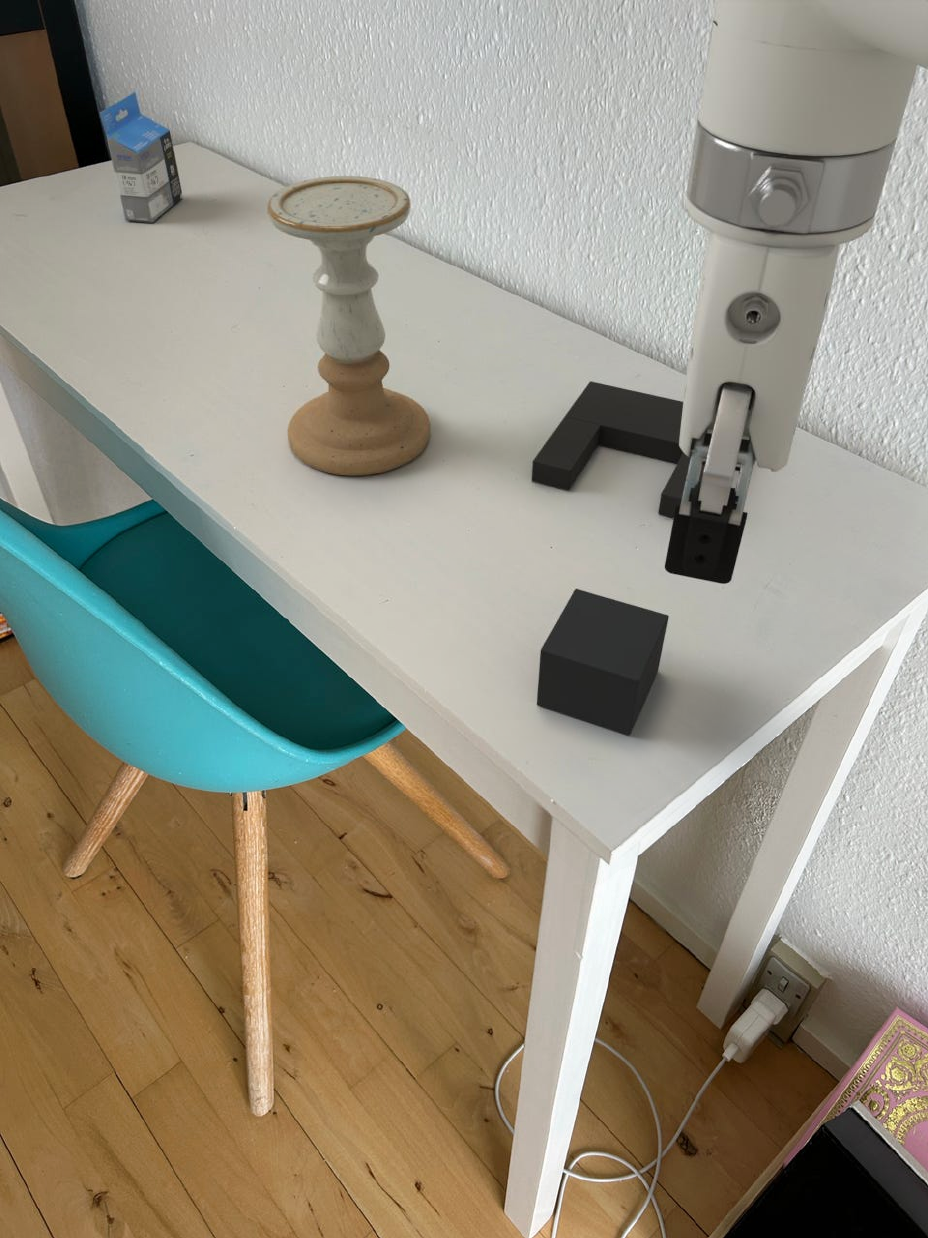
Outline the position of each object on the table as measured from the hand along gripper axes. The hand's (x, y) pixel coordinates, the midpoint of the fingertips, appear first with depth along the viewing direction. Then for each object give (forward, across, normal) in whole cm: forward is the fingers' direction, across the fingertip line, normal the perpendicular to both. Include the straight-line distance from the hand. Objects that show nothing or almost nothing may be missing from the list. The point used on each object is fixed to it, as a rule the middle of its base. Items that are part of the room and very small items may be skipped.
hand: (710, 516), depth 51 cm
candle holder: (+16, +24, +31) cm, 42 cm away
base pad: (+16, +28, +7) cm, 33 cm away
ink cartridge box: (+16, +64, +75) cm, 100 cm away
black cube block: (+16, +1, +5) cm, 16 cm away
